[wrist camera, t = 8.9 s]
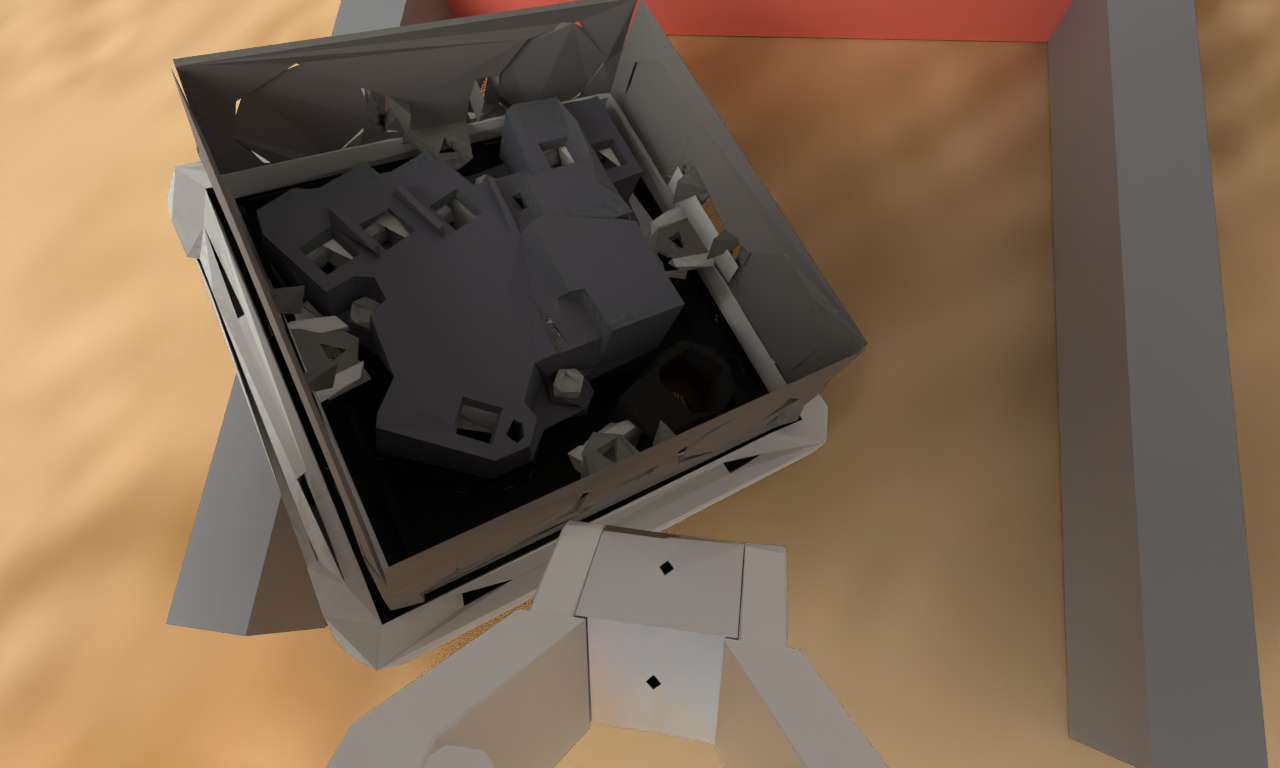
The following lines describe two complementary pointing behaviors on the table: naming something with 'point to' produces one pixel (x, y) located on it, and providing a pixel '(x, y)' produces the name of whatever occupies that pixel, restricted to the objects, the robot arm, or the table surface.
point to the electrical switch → (493, 301)
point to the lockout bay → (1086, 359)
